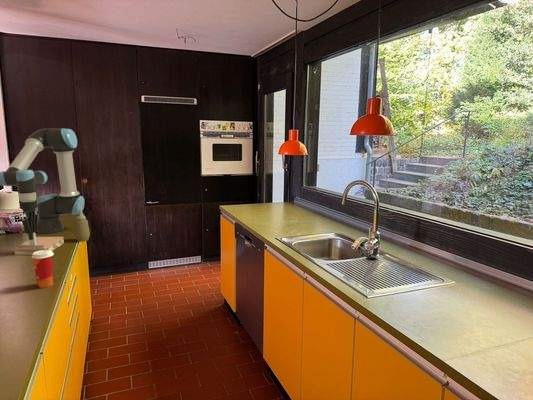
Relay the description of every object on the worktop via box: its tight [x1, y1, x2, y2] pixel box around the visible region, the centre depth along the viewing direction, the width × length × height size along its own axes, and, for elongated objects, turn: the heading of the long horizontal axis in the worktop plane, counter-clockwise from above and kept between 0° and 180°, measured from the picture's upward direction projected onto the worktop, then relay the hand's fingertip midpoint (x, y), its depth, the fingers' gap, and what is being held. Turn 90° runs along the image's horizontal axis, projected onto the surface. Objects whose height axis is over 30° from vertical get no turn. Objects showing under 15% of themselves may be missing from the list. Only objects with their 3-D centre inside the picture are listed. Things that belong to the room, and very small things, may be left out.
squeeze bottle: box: [74, 210, 91, 243], centre depth 216 cm, size 8×8×18 cm
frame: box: [14, 238, 65, 256], centre depth 200 cm, size 20×15×2 cm
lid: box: [13, 236, 64, 251], centre depth 200 cm, size 20×15×1 cm
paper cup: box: [31, 250, 55, 289], centre depth 151 cm, size 8×8×14 cm
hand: (33, 245), depth 193 cm, fingers closed
